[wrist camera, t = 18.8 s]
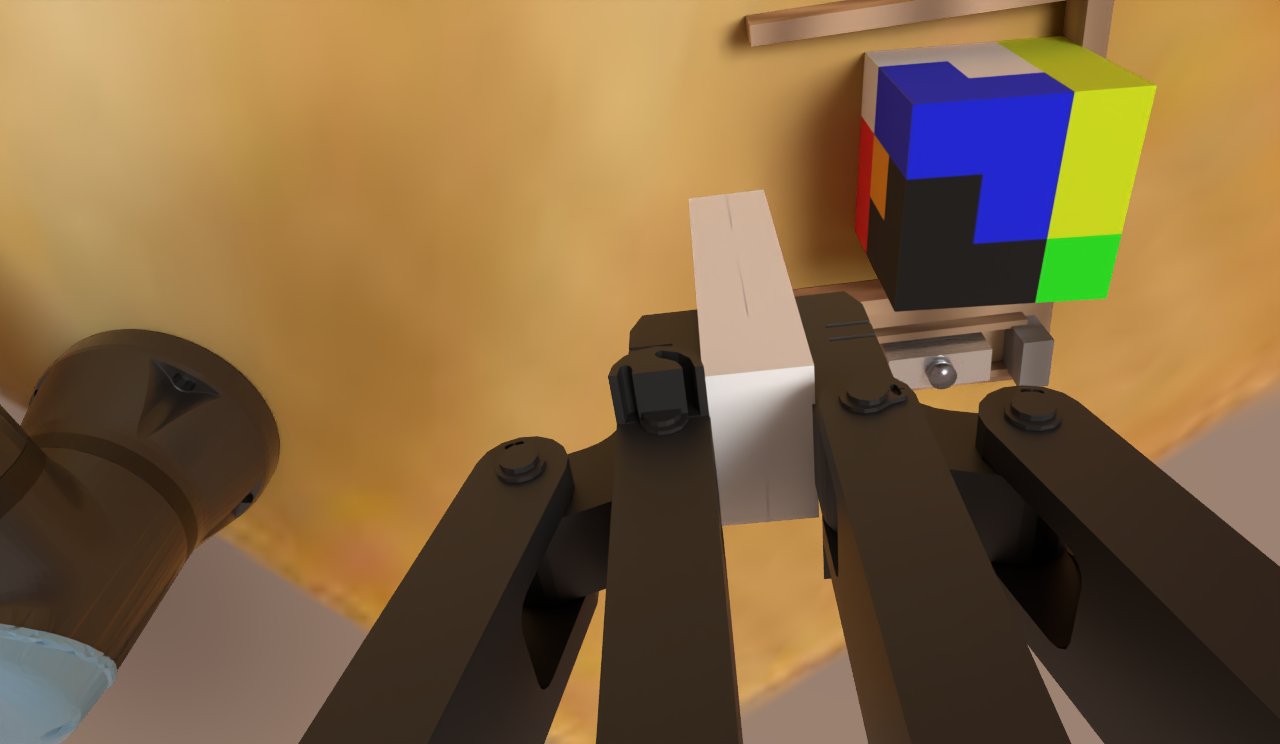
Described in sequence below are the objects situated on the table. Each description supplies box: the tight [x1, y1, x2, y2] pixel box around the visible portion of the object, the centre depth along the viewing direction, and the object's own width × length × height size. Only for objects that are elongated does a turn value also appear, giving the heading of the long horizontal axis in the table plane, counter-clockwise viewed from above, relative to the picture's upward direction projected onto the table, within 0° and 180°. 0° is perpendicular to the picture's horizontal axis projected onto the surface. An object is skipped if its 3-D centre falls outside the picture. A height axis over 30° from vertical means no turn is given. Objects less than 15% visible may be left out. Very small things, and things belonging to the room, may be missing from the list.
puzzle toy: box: [855, 36, 1157, 312], centre depth 43 cm, size 10×10×10 cm
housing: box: [745, 0, 1114, 390], centre depth 48 cm, size 17×24×4 cm
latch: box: [880, 332, 992, 389], centre depth 52 cm, size 6×2×3 cm, turn 98°
